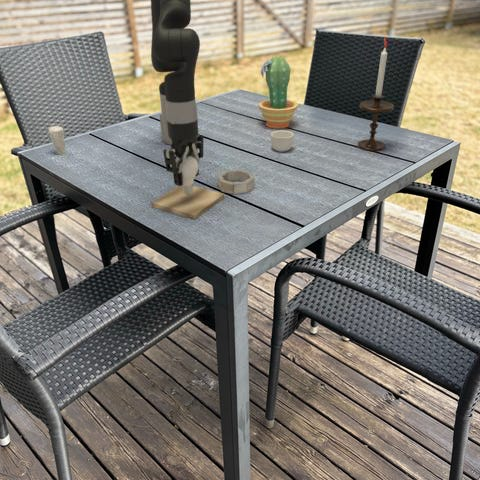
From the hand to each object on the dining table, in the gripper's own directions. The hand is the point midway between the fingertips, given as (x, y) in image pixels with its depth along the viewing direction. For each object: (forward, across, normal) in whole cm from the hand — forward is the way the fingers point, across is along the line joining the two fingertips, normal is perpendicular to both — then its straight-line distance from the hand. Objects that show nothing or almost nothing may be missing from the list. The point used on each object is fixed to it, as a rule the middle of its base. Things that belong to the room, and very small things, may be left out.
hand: (186, 179), depth 122 cm
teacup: (+7, -49, +4) cm, 50 cm away
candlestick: (+7, -65, +30) cm, 72 cm away
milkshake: (+7, -9, -60) cm, 61 cm away
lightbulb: (+4, 0, 0) cm, 4 cm away
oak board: (+7, 0, 0) cm, 7 cm away
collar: (+7, -15, +6) cm, 17 cm away
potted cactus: (+7, -71, -9) cm, 72 cm away
